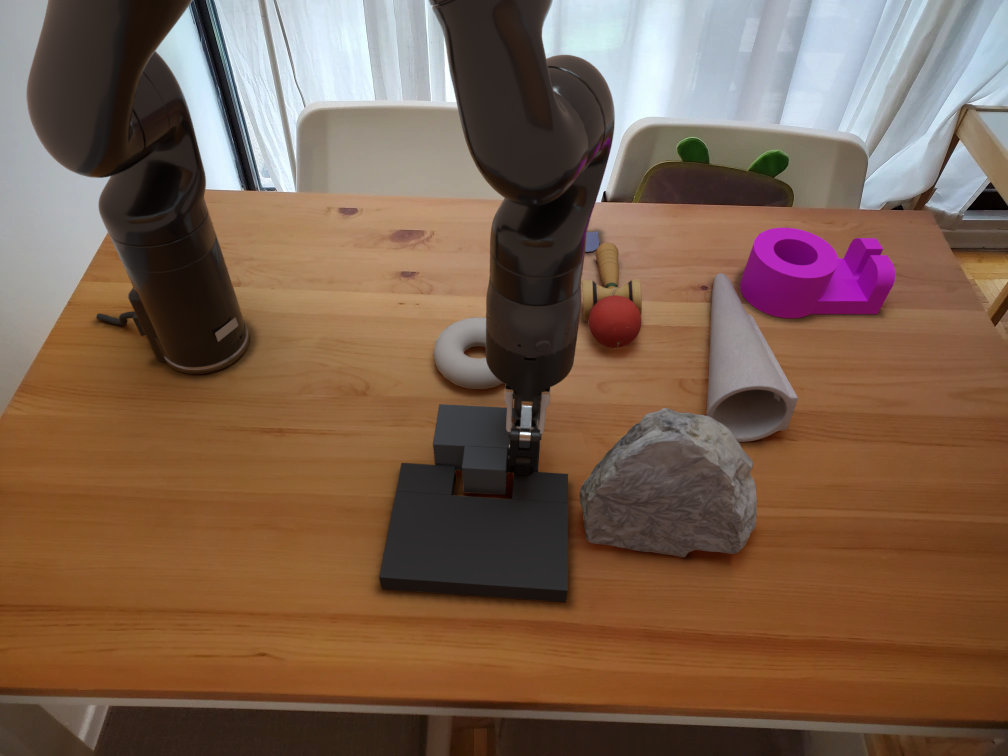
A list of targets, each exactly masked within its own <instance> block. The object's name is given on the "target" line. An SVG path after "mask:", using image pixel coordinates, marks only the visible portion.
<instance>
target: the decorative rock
mask: <svg viewBox="0 0 1008 756" xmlns="http://www.w3.org/2000/svg"><path fill="white" fill-rule="evenodd" d="M753 467H754V461H753V459H752V458H751V457H750V456H749V455H748V454H747V453H746V451H745V450H744V449H743V446H742V445H741V444H740V442H738V441H737V440H736V439H735V437H734V435H733V434H732V432H731V431H730V429H728V428H727V427H726V426H725V425H723V424H722V423H719V422H717V421H715V420H714V419H713V418H711V417H709V416H706V415H704V414H696V413H693V412H679V411H675V410H673V409H671V408H668V407H663V408H661V409H659V410H657V411H652V412H649V413H647V414H644V415H643V417H642V418H641V420H640V422H638V423H635V424H634V425H633V426H632V427H631V428H630V429H629V430H628V431H627V432H626V433H625V434H624V435H623V436H622V437H620V438H619V440H617V442H615V444H614V445H613V446H612V447H611V448H610V449H609V450H608V451H607V452H606V453H605V455H604V456H603V457H602V459H601V460H600V461H599V462H597V464H595V466H594V467H593V469H592V471H591V472H590V475H589V476H587V478H586V479H585V480H584V481H583V482H582V483H583V484H582V485H581V486H580V487H579V496H578V497H579V504H580V507H581V510H582V517H583V526H584V531H585V534H584V537H585V540H586V541H587V542H588V543H590V544H593V545H603V546H612V547H616V548H622V549H627V550H632V551H638V552H642V553H643V552H646V553H656V554H659V555H669V556H675V557H679V558H685V557H687V555H688V554H689V553H691V552H693V551H702V552H709V553H712V552H713V553H714V552H716V553H723V554H729V555H732V554H733V555H734V554H737V553H739V552H741V551H742V549H743V548H745V547H746V544H747V542H748V540H749V538H750V535H751V533H752V532H753V531H754V530H755V528H756V524H757V516H758V514H757V513H758V511H757V510H758V507H757V505H758V498H757V497H758V496H757V486H756V482H755V479H754V477H753V476H752V470H753Z"/></svg>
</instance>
